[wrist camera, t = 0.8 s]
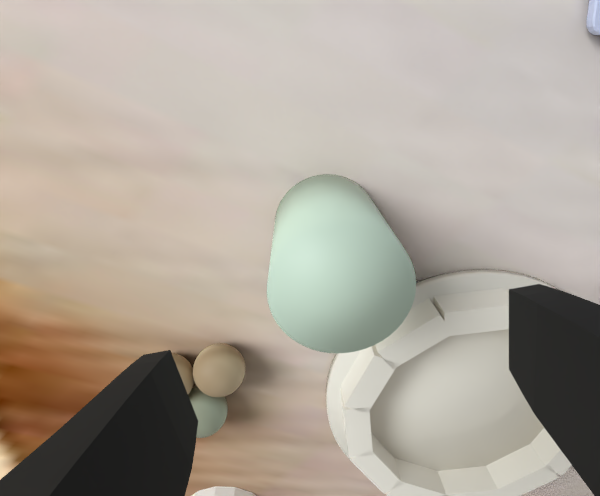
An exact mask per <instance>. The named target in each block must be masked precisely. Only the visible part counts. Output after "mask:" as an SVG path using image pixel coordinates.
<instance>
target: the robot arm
mask: <svg viewBox="0 0 600 496" xmlns="http://www.w3.org/2000/svg"><path fill="white" fill-rule="evenodd" d="M587 28H588V30H589V32H590V33H592V34H593V35H600V0H589V7H588V15H587ZM509 370H510V372H511V374H512V376H513V378H514V379H515V381H516V383H517V385H518V387H519V388H520V390H521V392H522V394H523V396H524V397H525V399H526V401H527V402H528V404H529V406H530V407H531V409H532V411H533V413H534V414H535V416H536V417H537V418H538V420H539V421H540V422H541V424H542V425H543V427H544V428H545V429H546V431H547V432H548V433H549V435H550V436H551V437H552V439H553V440H554V442H555V443H556V444H557V446H558V447H559V448H560V450H561V451H562V452H563V454H564V455H565V456H566V458H567V459H568V460H569V462H570V463H571V464H572V466H573V467H574V468H575V470H576V471H577V472H578V474H579V475H580V476H581V478H582V479H583V481H584V482H585V483H586V485H587V486H588V487H589V489H590V490H591V491H592V493H593V494H594V495H595V496H600V305H598V304H596V303H593V302H590V301H588V300H585V299H582V298H580V297H577V296H574V295H571V294H569V293H566V292H563V291H560V290H557V289H554V288H551V287H548V286H545V285H541V284H536V285H530V286H525V287H519V288H514V289H509ZM197 427H198V419H197V417H196V414H195V411H194V409H193V406H192V404H191V401H190V399H189V396H188V394H187V391H186V389H185V386H184V384H183V381H182V379H181V376H180V373H179V371H178V368H177V366H176V363H175V361H174V358H173V356H172V353H171V351H170V350H168V351H163V352H157V353H152V354H146V355H143V356H141V357H140V358H139V359H138V360H136V361H135V362H134V363H133V364H131V365H130V366H129V367H128V368H127V369H125V370H124V371H123V372H122V373H121V374H120V375H119V376H118V377H116V378H115V379H114V380H113V381H112V382H111V383H110V384H109V385H108V386H106V387H105V388H104V389H103V390H102V391H101V392H100V393H99V394H98V395H97V396H96V397H94V398H93V399H92V400H91V401H90V402H89V403H88V404H87V405H86V406H85V407H83V408H82V409H81V410H80V411H79V412H78V413H77V414H76V415H75V416H74V417H72V418H71V419H70V420H69V421H68V422H67V423H66V424H65V425H64V426H62V427H61V428H60V429H59V430H58V431H57V432H56V433H55V434H53V435H52V436H51V437H50V438H49V439H48V440H46V441H45V442H44V443H43V444H42V445H41V446H39V447H38V448H37V449H36V450H35V451H34V452H32V453H31V454H30V455H29V456H28V457H27V458H25V459H24V460H23V461H22V462H21V463H20V464H18V465H17V466H16V467H15V468H14V469H13V470H11V471H10V472H9V473H8V474H7V475H6V476H4V477H3V478H2V479H1V480H0V496H185V492H186V488H187V485H188V481H189V477H190V473H191V469H192V463H193V457H194V450H195V443H196V435H197Z"/></svg>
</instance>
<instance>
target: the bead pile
mask: <svg viewBox="0 0 600 496" xmlns="http://www.w3.org/2000/svg"><path fill="white" fill-rule="evenodd" d="M172 356H173V358H174V361H175V363H176V366H177V368H178V371H179V373H180V376H181V379H182V381H183V384H184V386H185V389H186V391H187V394H188V396H189V399H190V401H191V404H192V406H193V409H194V411H195V414H196V417H197V419H198V427H197V435H196V437H197V438H203V437H208V436H210V435H212V434H214V433H216V432H217V431H218V430H219V429H220V428H221V427H222V425H223V424H224V422H225V420H226V417H227V412H228V405H227V401H226V398H225V396H227V395H229V394H231V393H233V392H234V391H235V390H237V389H238V387H239V386H240V385H241V383H242V381H243V379H244V376H245V362H244V359H243V357H242V355H241V354H240V352H239V351H238V350H237V349H236V348H234V347H233V346H231V345H228V344H223V343H219V344H213V345H210V346H208V347H207V348H205V349H204V350H203V351H201V353H200V354H199V355H198V356H197V358H196V360H195V362H194V366H193V368H192V366H191V364H190V363H189V361H188V360H187V359H186V358H184V357H183V356H181V355H179V354H175V353H172ZM194 381H195V384H196V385H197V386H195V387H193V384H194ZM192 387H193V388H192Z"/></svg>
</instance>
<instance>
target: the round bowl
mask: <svg viewBox="0 0 600 496" xmlns="http://www.w3.org/2000/svg"><path fill="white" fill-rule="evenodd" d="M536 284H541V285H545V286H548V287H551V288H554V289H557V288H555V287H553V286H551V285H549V284H547V283H545V282H543V281H541V280H539V279H536V278H533V277H530V276H527V275H524V274H521V273H515V272H510V271H504V270H489V269H479V270H463V271H458V272H452V273H447V274H442V275H439V276H435V277H432V278H429V279H425V280H422V281H420V282H418V283H416V293H415V298H414V301H413V304H412V307H411V309H410V311H409V313H408V315H407V317H406V318H405V320H404V321H403V323H402V324H401V325H400V326H399V327H398V328H397V330H396V331H394V332H393V333H392V334H391V335H390V336H388V337H387V338H386V339H384V340H383V341H381V342H379V343H377V344H376V345H374V346H371V347H369V348H366V349H363V350H359V351H355V352H349V353H336V355H335V357H334V359H333V361H332V364H331V367H330V371H329V374H328V378H327V386H326V406H327V415H328V419H329V424H330V428H331V430H332V433H333V435H334V438H335V440H336V441H337V443H338V445H339V446H340V448H341V450H342V451H343V452H344V453H345V454H346V456H347V457H348V458H349V459H350V461H351V462H352V463H353V464H354V465H355V466H356V467H357V468H358V469H359V470H360V471H361V472H362V473H363V474H364V475H365V476H366V477H367V478H368V479H369V480H370V481H371V482H372V483H373V484H374V485H375V486H376V487H377V488H378V489H379V490H380V491H381V492H382V493H383V494H385V493H386V494H387V496H521V495H523V494H525V493H528V492H530V491H532V490H534V489H536V488H538V487H540V486H542V485H545V484H547V483H549V482H551V481H553V480H555V479H557V478H559V477H558V476H557V474H560V475H563V474H564V473H565V472H566V471H567V470H568V469H569V468H570V466H571V465H572V464H571V463H570V462H569V460H568V459H567V458H566V456H565V455H564V454H563V452H562V451H561V450H560V448H559V447H558V446H557V444H556V443H555V442H554V440H553V439H552V437H551V436H550V435H549V433H548V432H547V431H546V429H545V428H544V427H543V425H542V424H541V422H540V421H539V420H538V418H537V417H536V416H535V414H534V413H533V411H532V409H531V407H530V406H529V404H528V402H527V401H526V399H525V397H524V396H523V394H522V392H521V390H520V388H519V387H518V385H517V383H516V381H515V379H514V378H513V376H512V374H511V372H510V370H509V289H514V288H519V287H525V286H530V285H536ZM557 290H558V289H557Z"/></svg>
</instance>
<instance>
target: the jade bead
mask: <svg viewBox="0 0 600 496" xmlns="http://www.w3.org/2000/svg"><path fill="white" fill-rule="evenodd" d="M415 293H416V276H415V271H414V267H413V264H412V262H411V259H410V257H409V256H408V254H407V252H406V251H405V249H404V248H403V246H402V245H401V243H400V242H399V240H398V239H397V237H396V236H395V234H394V233H393V231H392V230H391V228H390V227H389V225H388V224H387V222H386V221H385V219H384V218H383V216H382V215H381V213H380V212H379V210H378V209H377V207H376V206H375V204H374V203H373V201H372V200H371V198H370V197H369V195H368V194H367V193H366V191H365V190H364V189H363V188H362V187H361V186H359V185H358V184H357V183H355V182H354V181H352V180H350V179H348V178H345V177H342V176H338V175H329V174H326V175H317V176H313V177H310V178H307V179H305V180H303V181H301V182H299V183H298V184H296V185H295V186H294V187H292V188H291V189H290V190H289V191H288V192H287V193H286V195H285V196H284V197H283V199H282V200H281V202H280V204H279V207H278V210H277V213H276V218H275V226H274V234H273V242H272V250H271V258H270V266H269V274H268V282H267V298H268V303H269V307H270V310H271V313H272V315H273V317H274V319H275V321H276V322H277V324H278V325H279V326H280V328H281V329H282V330H283V331H284V332H285V333H286V334H287V335H288V336H289V337H290V338H292V339H293V340H295V341H296V342H298V343H299V344H301V345H303V346H305V347H308V348H310V349H313V350H317V351H320V352H327V353H349V352H355V351H359V350H363V349H366V348H369V347H371V346H374V345H376V344H377V343H379V342H381V341H383V340H384V339H386V338H387V337H388V336H390V335H391V334H392V333H393V332H394V331H396V330H397V328H398V327H399V326H400V325H401V324H402V323H403V321H404V320H405V318H406V317H407V315H408V313H409V311H410V309H411V307H412V304H413V301H414V298H415Z"/></svg>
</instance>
